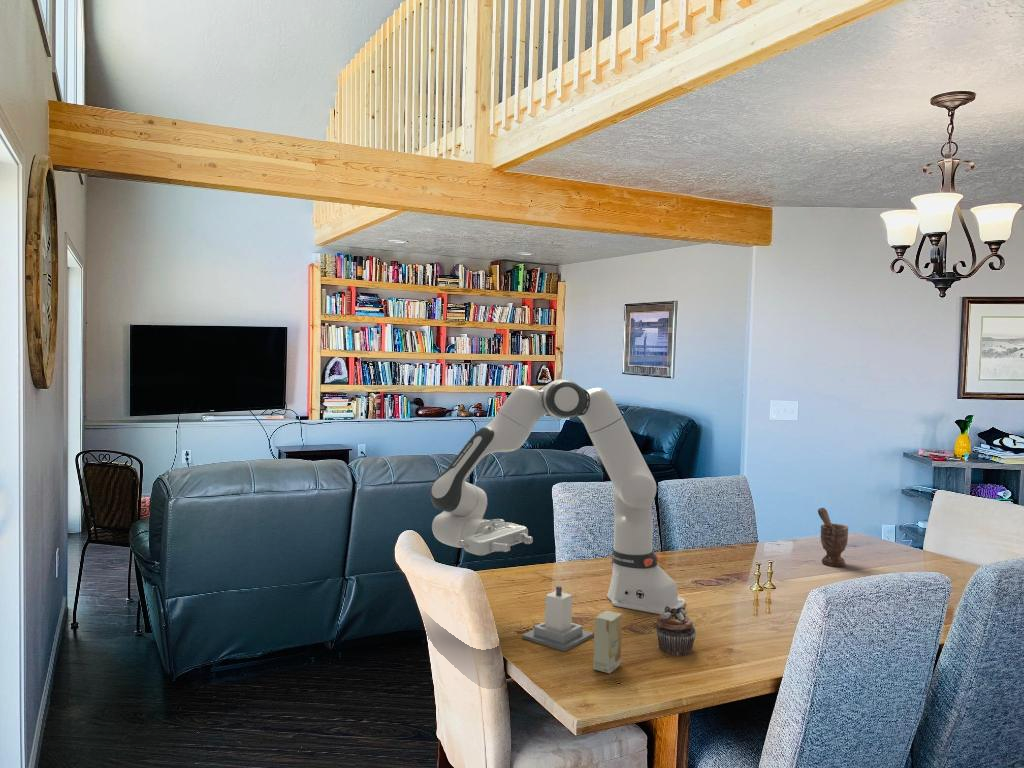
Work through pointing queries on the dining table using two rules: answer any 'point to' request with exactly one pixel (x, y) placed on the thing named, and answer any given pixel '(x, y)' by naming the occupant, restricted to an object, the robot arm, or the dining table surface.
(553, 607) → the plug
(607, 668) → the skincare box
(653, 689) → the dining table surface
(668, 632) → the cupcake
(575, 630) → the socket plate
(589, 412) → the robot arm
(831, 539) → the mortar and pestle
